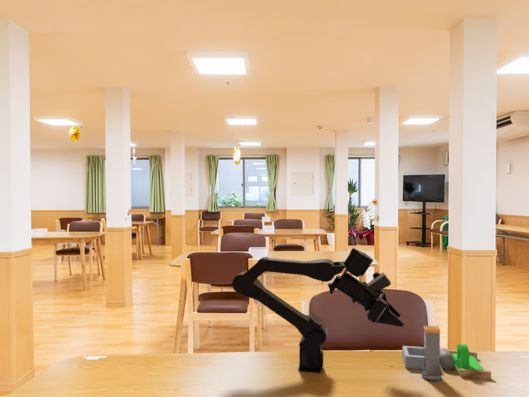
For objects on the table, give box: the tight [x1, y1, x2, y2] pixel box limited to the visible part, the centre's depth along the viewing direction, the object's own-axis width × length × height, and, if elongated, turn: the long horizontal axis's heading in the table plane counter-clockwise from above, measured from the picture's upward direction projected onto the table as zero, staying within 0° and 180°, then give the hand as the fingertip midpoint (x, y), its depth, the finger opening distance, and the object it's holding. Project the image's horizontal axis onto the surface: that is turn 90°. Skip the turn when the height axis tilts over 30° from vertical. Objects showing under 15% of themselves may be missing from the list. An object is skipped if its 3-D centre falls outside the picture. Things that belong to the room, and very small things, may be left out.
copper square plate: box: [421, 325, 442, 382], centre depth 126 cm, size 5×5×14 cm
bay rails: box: [448, 349, 492, 380], centre depth 133 cm, size 8×16×2 cm, turn 168°
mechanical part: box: [452, 343, 485, 372], centre depth 133 cm, size 12×6×8 cm, turn 170°
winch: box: [401, 345, 456, 371], centre depth 136 cm, size 14×9×4 cm, turn 78°
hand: (401, 320), depth 127 cm, fingers open, 9 cm apart
